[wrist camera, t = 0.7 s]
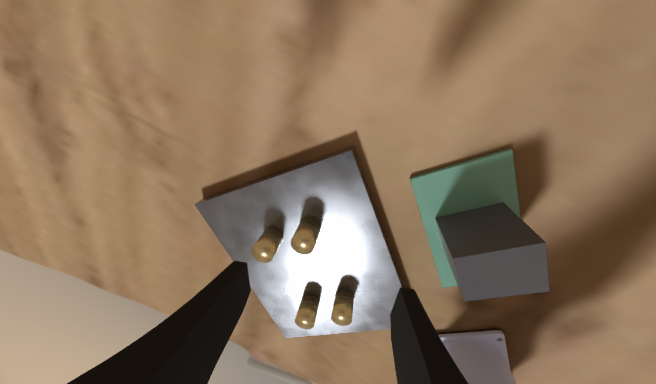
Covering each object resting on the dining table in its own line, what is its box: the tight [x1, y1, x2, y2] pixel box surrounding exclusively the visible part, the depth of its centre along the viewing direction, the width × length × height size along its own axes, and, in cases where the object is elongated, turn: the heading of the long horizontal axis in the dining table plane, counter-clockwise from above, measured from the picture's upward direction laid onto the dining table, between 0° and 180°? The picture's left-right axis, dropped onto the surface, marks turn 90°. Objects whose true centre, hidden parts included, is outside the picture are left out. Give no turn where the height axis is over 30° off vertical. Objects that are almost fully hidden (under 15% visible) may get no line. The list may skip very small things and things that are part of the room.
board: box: [410, 148, 549, 302], centre depth 18 cm, size 12×7×6 cm, turn 23°
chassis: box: [195, 146, 404, 338], centre depth 23 cm, size 20×16×4 cm
